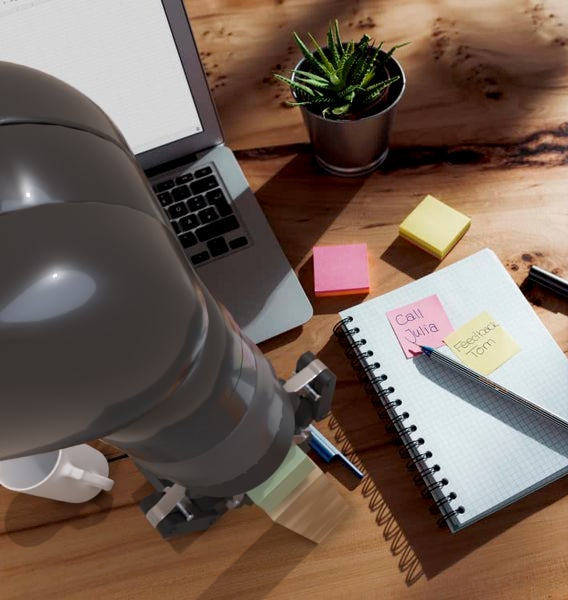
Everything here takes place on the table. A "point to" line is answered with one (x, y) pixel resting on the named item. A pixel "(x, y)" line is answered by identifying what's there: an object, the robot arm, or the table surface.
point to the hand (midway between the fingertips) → (271, 467)
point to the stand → (311, 507)
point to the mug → (59, 474)
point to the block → (282, 480)
